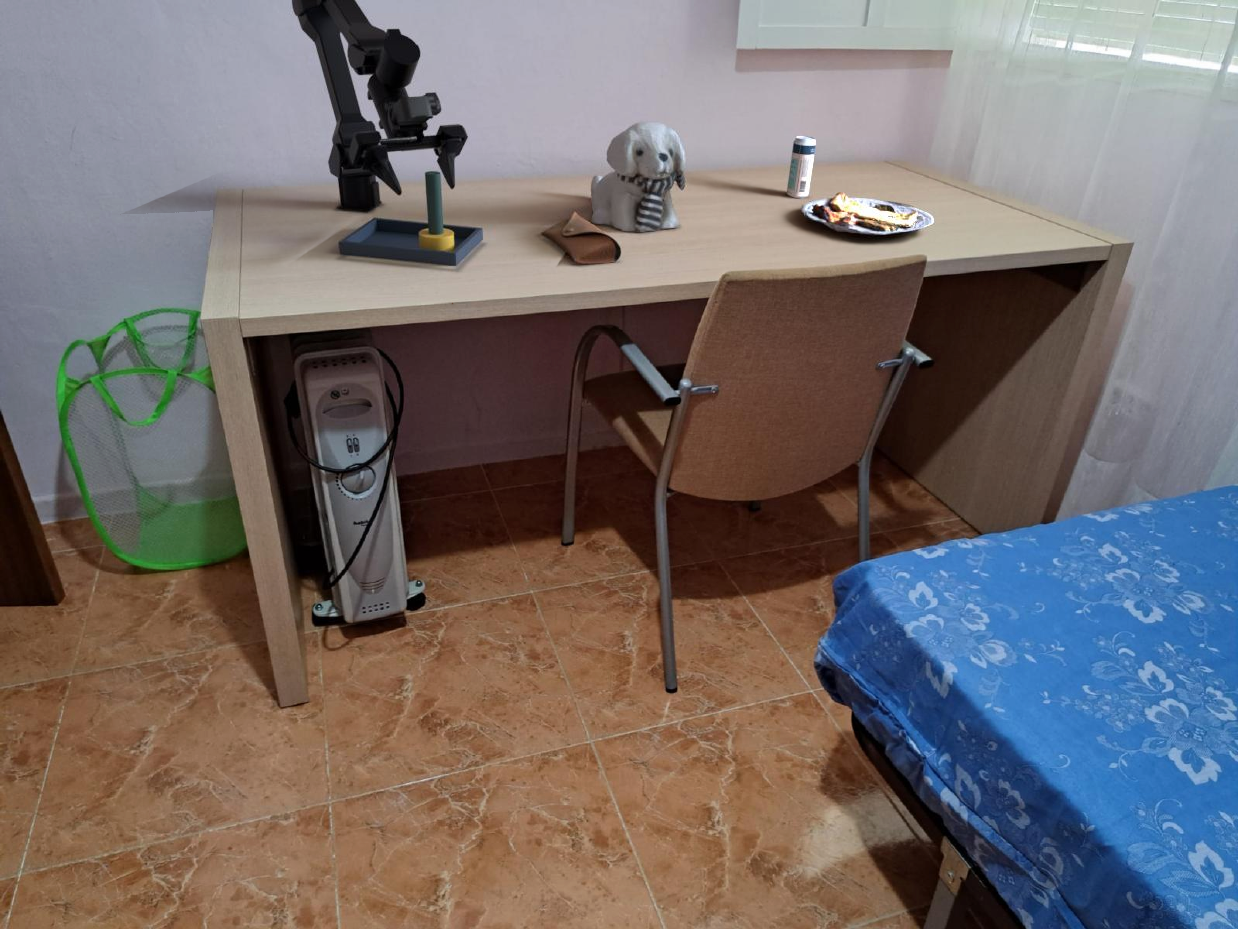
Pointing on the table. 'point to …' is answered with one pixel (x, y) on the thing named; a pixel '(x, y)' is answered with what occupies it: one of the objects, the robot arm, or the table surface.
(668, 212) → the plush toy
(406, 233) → the tray
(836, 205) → the food plate
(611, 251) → the sunglasses case
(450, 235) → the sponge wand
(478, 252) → the table surface
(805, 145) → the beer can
